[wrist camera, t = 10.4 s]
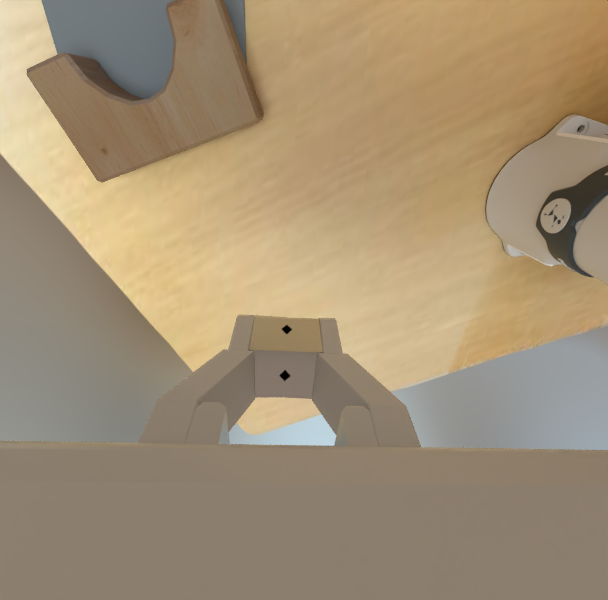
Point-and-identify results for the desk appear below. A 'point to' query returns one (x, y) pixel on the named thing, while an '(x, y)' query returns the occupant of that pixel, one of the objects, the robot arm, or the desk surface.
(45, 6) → the felt mat
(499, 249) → the desk surface
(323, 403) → the robot arm
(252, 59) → the desk surface
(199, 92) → the decorative block
